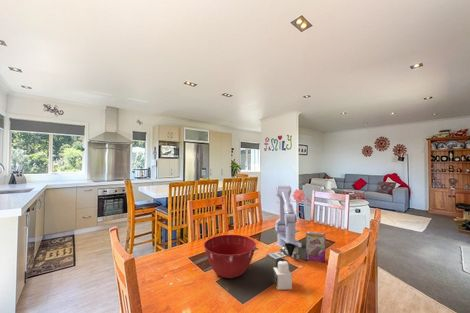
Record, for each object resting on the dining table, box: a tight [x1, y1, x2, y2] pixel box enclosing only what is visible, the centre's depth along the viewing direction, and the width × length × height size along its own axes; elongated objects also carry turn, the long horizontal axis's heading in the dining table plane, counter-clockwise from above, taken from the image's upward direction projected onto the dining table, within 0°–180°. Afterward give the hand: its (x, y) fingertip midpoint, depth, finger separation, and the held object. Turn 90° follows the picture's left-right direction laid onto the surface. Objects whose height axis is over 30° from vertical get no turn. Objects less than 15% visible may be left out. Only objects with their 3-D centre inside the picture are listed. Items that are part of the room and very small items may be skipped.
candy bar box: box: [305, 231, 326, 263], centre depth 129 cm, size 11×5×16 cm, turn 71°
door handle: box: [281, 246, 300, 260], centre depth 132 cm, size 14×4×3 cm, turn 25°
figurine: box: [289, 188, 312, 227], centre depth 204 cm, size 15×26×35 cm, turn 51°
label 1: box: [268, 252, 281, 259], centre depth 132 cm, size 4×7×1 cm, turn 30°
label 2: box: [273, 251, 287, 259], centre depth 135 cm, size 4×7×1 cm, turn 30°
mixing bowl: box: [203, 234, 257, 279], centre depth 114 cm, size 28×28×16 cm
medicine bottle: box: [272, 258, 293, 291], centre depth 101 cm, size 7×7×12 cm
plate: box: [266, 251, 289, 261], centre depth 133 cm, size 10×9×1 cm
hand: (290, 255), depth 127 cm, fingers closed
